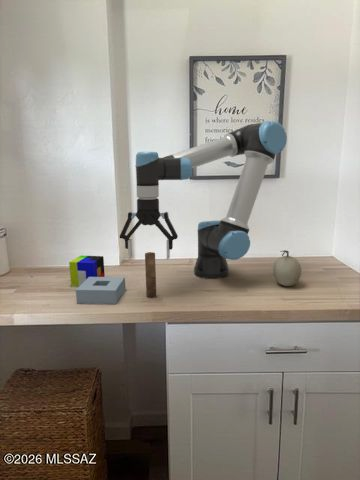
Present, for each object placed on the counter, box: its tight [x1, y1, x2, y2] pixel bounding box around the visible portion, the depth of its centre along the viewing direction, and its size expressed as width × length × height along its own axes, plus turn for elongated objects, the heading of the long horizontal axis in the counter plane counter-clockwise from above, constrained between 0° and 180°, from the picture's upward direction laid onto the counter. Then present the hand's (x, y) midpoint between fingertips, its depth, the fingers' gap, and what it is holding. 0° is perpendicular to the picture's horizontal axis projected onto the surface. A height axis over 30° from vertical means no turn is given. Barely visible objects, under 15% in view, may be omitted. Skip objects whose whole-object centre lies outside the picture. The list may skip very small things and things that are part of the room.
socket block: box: [75, 276, 126, 305], centre depth 128 cm, size 14×14×5 cm
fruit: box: [272, 249, 302, 287], centre depth 136 cm, size 10×12×15 cm
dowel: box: [144, 251, 157, 299], centre depth 126 cm, size 4×4×16 cm
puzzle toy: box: [68, 254, 106, 287], centre depth 142 cm, size 10×10×10 cm
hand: (149, 258), depth 125 cm, fingers open, 13 cm apart
